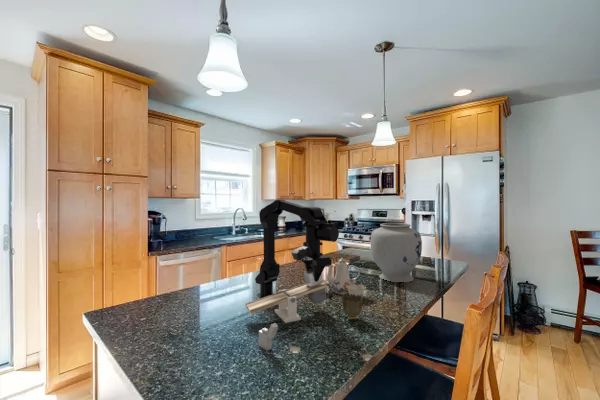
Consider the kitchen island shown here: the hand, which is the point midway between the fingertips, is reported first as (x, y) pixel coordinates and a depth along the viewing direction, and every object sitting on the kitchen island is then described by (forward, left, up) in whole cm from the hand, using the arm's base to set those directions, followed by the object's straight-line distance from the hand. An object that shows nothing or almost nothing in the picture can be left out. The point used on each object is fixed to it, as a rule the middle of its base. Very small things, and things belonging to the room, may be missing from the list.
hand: (313, 279), depth 111 cm
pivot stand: (0, -11, -12) cm, 16 cm away
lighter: (+20, -25, -12) cm, 34 cm away
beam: (0, -10, -10) cm, 14 cm away
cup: (+13, +9, -12) cm, 20 cm away
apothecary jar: (-22, +62, -12) cm, 67 cm away
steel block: (0, 0, -2) cm, 2 cm away
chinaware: (-14, +21, -12) cm, 28 cm away
